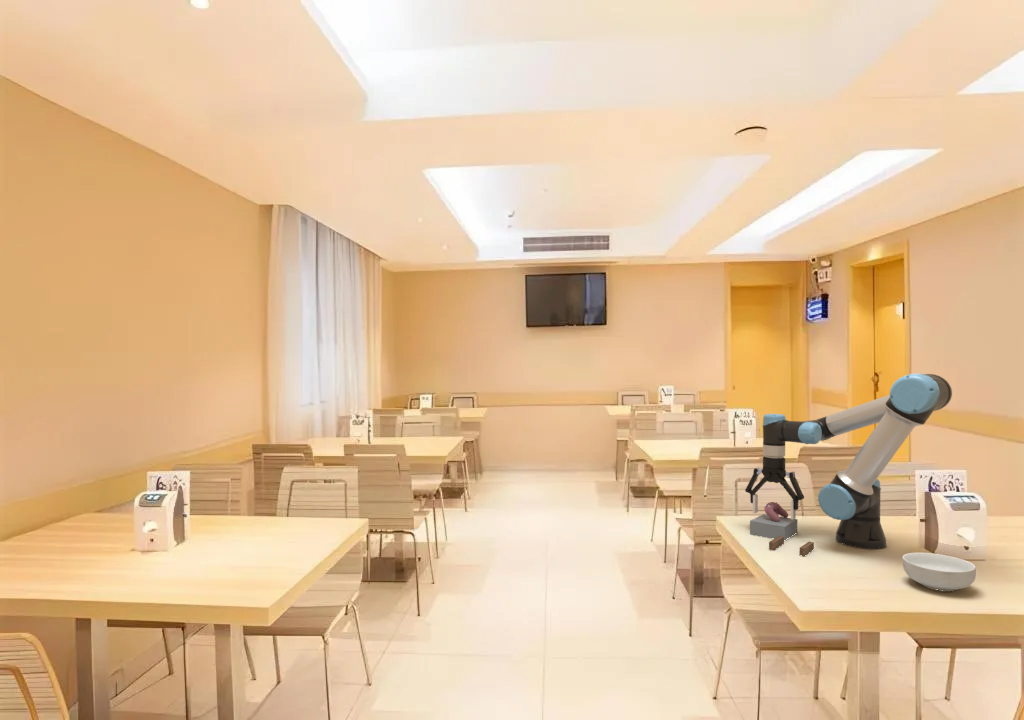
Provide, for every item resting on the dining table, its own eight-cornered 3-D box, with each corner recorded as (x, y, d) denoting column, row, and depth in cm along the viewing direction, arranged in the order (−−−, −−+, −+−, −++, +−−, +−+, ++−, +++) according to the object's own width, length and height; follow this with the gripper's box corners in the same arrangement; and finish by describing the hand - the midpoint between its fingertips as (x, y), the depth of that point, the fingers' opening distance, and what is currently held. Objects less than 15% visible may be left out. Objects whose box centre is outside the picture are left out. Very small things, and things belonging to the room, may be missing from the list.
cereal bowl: (906, 572, 180) (906, 548, 180) (977, 585, 169) (977, 559, 169) (898, 588, 167) (898, 562, 167) (974, 603, 156) (974, 575, 156)
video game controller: (778, 520, 226) (769, 502, 229) (789, 516, 224) (781, 498, 226) (768, 525, 219) (759, 506, 221) (780, 521, 216) (771, 502, 219)
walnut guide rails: (813, 549, 201) (813, 542, 201) (804, 556, 194) (804, 548, 194) (779, 543, 209) (779, 535, 209) (769, 549, 201) (769, 541, 201)
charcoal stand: (797, 533, 222) (797, 519, 222) (784, 541, 211) (784, 526, 211) (763, 527, 230) (763, 513, 230) (749, 534, 219) (750, 520, 219)
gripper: (813, 459, 215) (813, 519, 215) (743, 452, 232) (743, 508, 232) (807, 461, 210) (807, 523, 209) (736, 454, 226) (736, 511, 226)
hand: (773, 515), depth 220 cm, fingers open, 13 cm apart
